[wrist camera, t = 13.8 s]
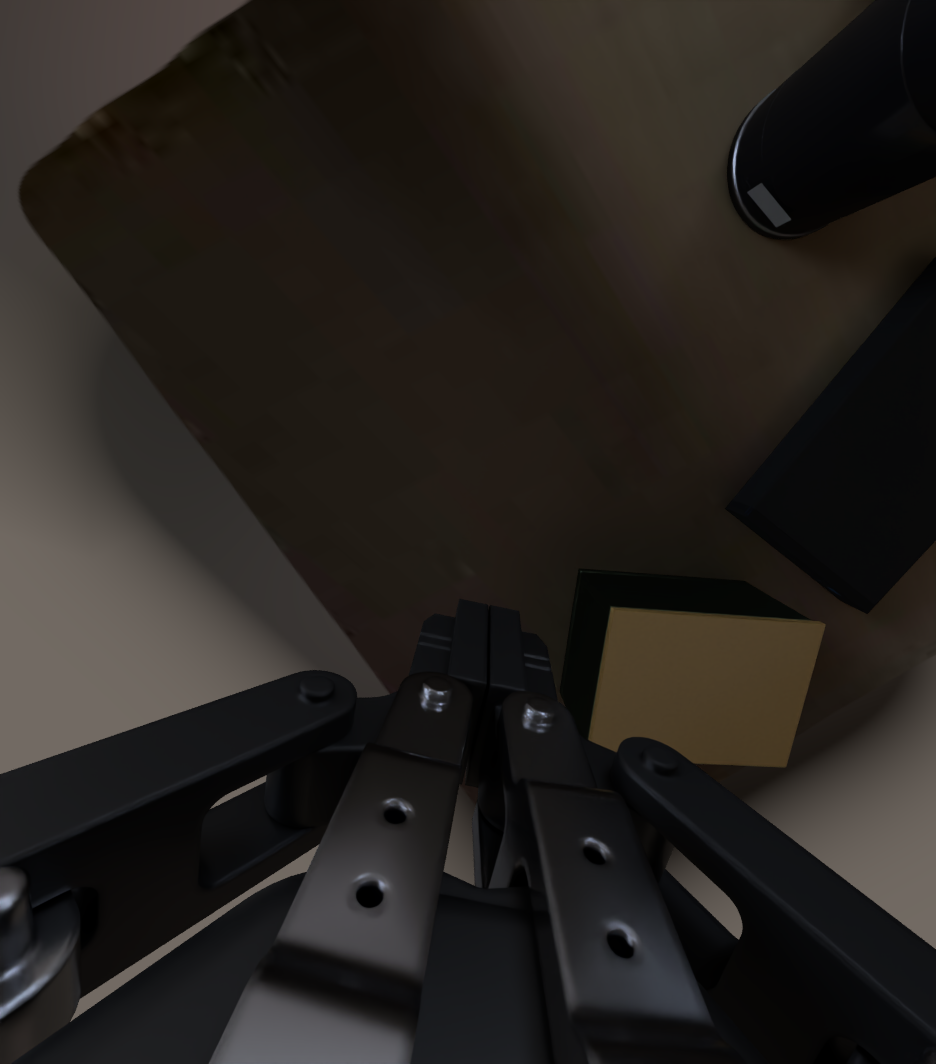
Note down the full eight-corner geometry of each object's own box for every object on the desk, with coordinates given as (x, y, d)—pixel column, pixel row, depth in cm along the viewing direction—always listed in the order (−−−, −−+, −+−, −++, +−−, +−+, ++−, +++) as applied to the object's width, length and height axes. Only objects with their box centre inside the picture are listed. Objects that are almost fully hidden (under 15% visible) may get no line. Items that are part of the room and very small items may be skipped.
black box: (744, 580, 45) (811, 620, 37) (716, 701, 47) (773, 761, 39) (578, 568, 43) (610, 606, 36) (559, 692, 46) (585, 753, 38)
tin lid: (819, 620, 37) (826, 624, 36) (780, 762, 39) (786, 767, 39) (610, 606, 35) (613, 610, 35) (585, 753, 38) (587, 759, 38)
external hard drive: (1046, 376, 42) (1092, 374, 39) (840, 601, 46) (868, 615, 43) (931, 258, 39) (971, 247, 36) (723, 508, 43) (744, 516, 40)
